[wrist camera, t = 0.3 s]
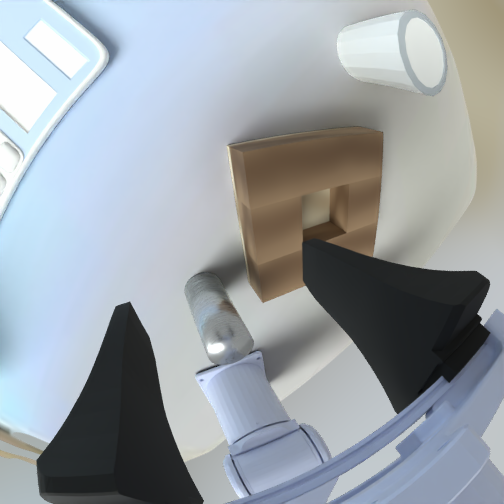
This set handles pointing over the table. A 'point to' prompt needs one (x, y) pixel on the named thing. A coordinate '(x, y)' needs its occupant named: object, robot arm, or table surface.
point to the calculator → (39, 80)
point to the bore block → (304, 199)
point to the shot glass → (395, 52)
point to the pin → (217, 320)
